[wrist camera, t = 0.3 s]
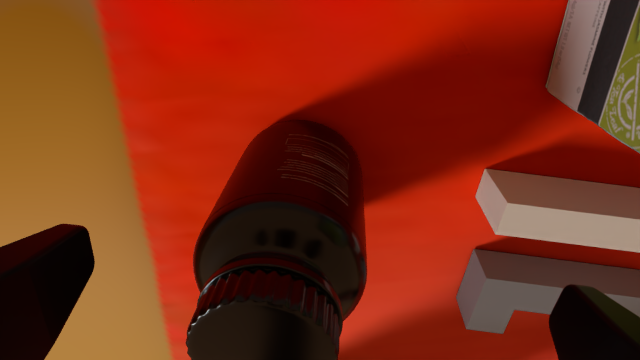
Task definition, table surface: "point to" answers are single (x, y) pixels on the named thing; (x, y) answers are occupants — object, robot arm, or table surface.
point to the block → (533, 286)
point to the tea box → (600, 65)
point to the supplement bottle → (282, 250)
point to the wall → (561, 209)
